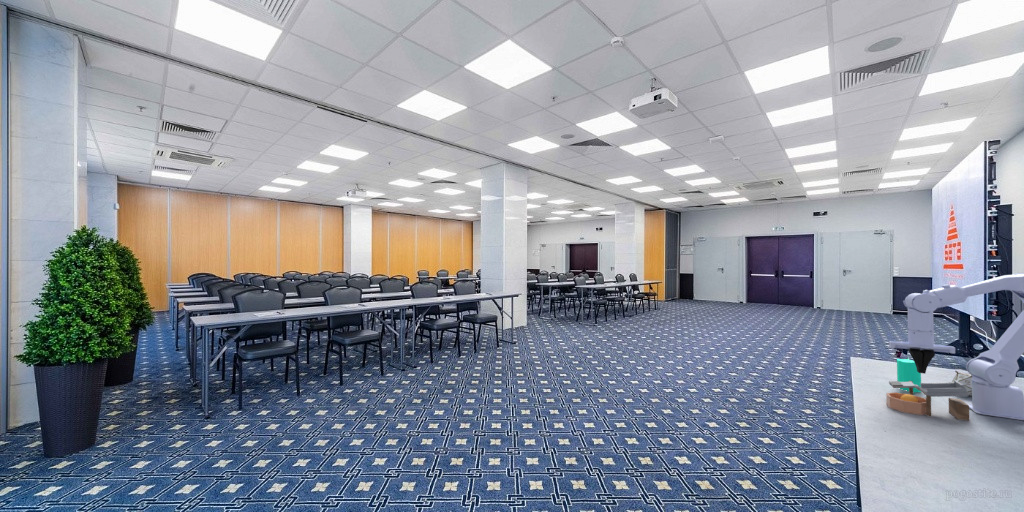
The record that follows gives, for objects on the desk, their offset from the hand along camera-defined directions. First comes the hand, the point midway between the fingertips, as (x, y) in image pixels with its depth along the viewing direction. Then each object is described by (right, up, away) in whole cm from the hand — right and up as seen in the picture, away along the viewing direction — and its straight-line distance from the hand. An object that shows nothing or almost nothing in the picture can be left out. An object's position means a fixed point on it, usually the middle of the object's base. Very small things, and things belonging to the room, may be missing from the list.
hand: (921, 372), depth 122 cm
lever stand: (+1, -10, -4) cm, 11 cm away
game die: (+25, -11, +8) cm, 28 cm away
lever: (-2, -5, -3) cm, 6 cm away
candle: (+11, -11, +14) cm, 21 cm away
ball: (-8, -8, -3) cm, 11 cm away
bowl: (-8, -10, -3) cm, 13 cm away
